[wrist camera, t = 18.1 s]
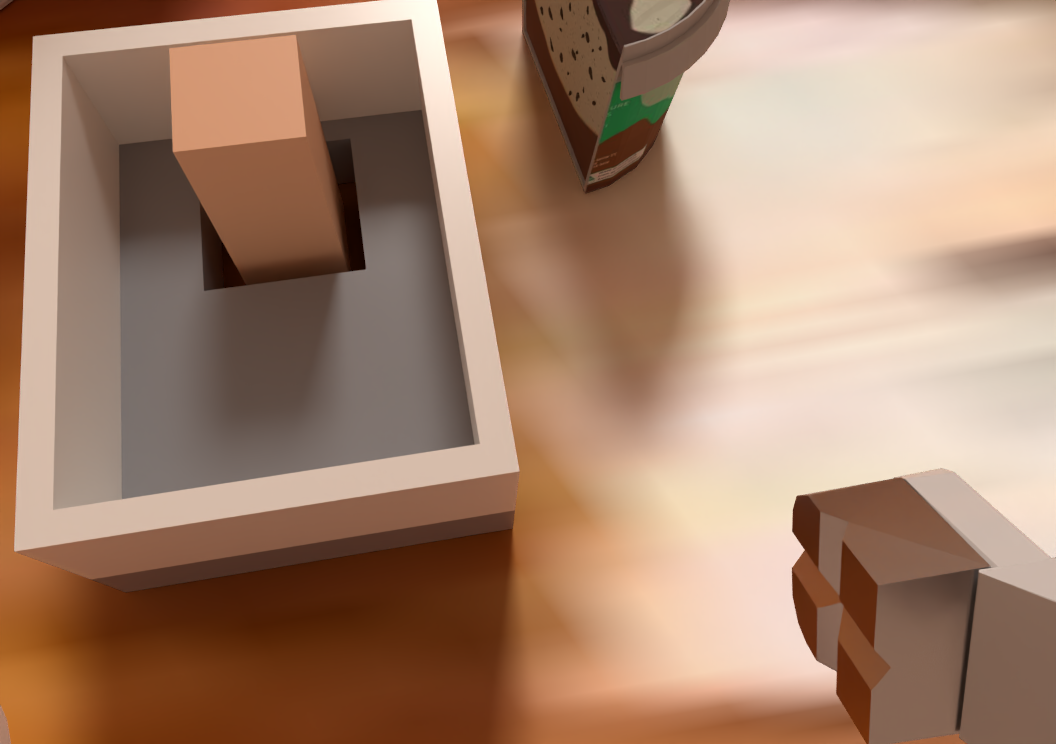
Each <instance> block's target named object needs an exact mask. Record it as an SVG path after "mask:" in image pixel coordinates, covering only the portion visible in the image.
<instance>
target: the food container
mask: <svg viewBox="0 0 1056 744" xmlns="http://www.w3.org/2000/svg"><path fill="white" fill-rule="evenodd" d="M729 2H730V0H522V32H523V34H524V37H525V39H526V42H527V44H528V47H529V50H530V52H531V55H532V57H533V60H534V63H535V65H536V68H537V70H538V73H539V76H540V78H541V81H542V83H543V86H544V89H545V91H546V94H547V96H548V99H549V102H550V104H551V107H552V109H553V112H554V115H555V117H556V120H557V122H558V125H559V128H560V130H561V133H562V135H563V138H564V141H565V143H566V146H567V148H568V151H569V154H570V156H571V159H572V161H573V164H574V167H575V169H576V172H577V174H578V177H579V179H580V182H581V185H582V187H583V190H584V192H585V193H588V192H591V191H594V190H597V189H600V188H603V187H606V186H609V185H611V184H612V183H614V182H615V181H617V180H618V179H620V178H621V177H623V176H624V175H626V174H627V173H629V172H630V171H632V170H633V169H635V168H636V167H637V165H638V164H639V163H640V161H641V160H642V159H643V157H644V156H645V155H646V154H647V152H648V151H649V150H650V148H651V147H652V146H653V144H654V142H655V139H656V137H657V134H658V132H659V130H660V127H661V125H662V123H663V120H664V118H665V115H666V113H667V111H668V108H669V106H670V104H671V101H672V99H673V97H674V94H675V92H676V89H677V87H678V85H679V82H680V80H681V78H682V75H683V73H684V72H685V71H686V70H688V69H689V68H690V67H691V66H692V65H693V64H694V63H695V62H696V61H697V60H698V59H699V58H700V57H701V56H702V55H704V54H705V52H706V51H707V50H708V48H709V47H710V45H711V44H712V43H713V41H714V40H715V38H716V37H717V36H718V34H719V31H720V29H721V27H722V25H723V23H724V20H725V18H726V15H727V11H728V6H729Z"/></svg>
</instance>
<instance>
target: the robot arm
mask: <svg viewBox="0 0 1056 744" xmlns="http://www.w3.org/2000/svg"><path fill="white" fill-rule="evenodd" d="M792 532H793V533H794V535H795V536H796V538H797V539H798V541H799V542H800V543H801V545H802V546H803V548H804V549H805V551H804V552H803V554H802V555H801V556H800V558H799V559H798V561H797V562H796V563H795V565H794V566H793V567H792V590H793V600H794V605H795V609H796V614H797V619H798V623H799V626H800V628H801V631H802V633H803V636H804V638H805V641H806V643H807V645H808V646H809V648H810V650H811V652H812V653H813V655H814V657H815V659H816V660H817V661H818V662H820V663H822V664H824V665H826V666H828V667H829V668H831V669H833V670H835V671H837V688H836V694H837V696H838V697H839V699H840V701H841V702H842V704H843V706H844V707H845V709H846V711H847V712H848V714H849V715H850V717H851V719H852V720H853V722H854V724H855V725H856V727H857V729H858V730H859V732H860V734H861V735H862V737H863V739H864V740H865V742H866V744H892V743H899V742H906V741H912V740H919V739H926V738H932V737H939V736H946V735H952V734H959V733H960V735H959V738H960V739H961V740H963V741H965V742H966V743H968V744H1056V557H1055V558H1051V557H1050V556H1048V555H1047V554H1046V553H1045V552H1044V551H1043V550H1042V549H1040V548H1039V547H1038V546H1037V545H1036V544H1035V543H1034V542H1033V541H1031V540H1030V539H1029V538H1028V537H1027V536H1026V535H1025V534H1024V533H1022V532H1021V531H1020V530H1019V529H1018V528H1017V527H1016V526H1015V525H1013V524H1012V523H1011V522H1010V521H1009V520H1008V519H1007V518H1006V517H1004V516H1003V515H1002V514H1001V513H1000V512H999V511H998V510H997V509H995V508H994V507H993V506H992V505H991V504H990V503H989V502H987V501H986V500H985V499H984V498H983V497H982V496H981V495H980V494H978V493H977V492H976V491H975V490H974V489H973V488H972V487H971V486H969V485H968V484H967V483H966V482H965V481H964V480H963V479H962V478H960V477H959V476H958V475H957V474H956V473H955V472H953V471H949V470H946V469H943V468H940V469H935V470H930V471H925V472H920V473H915V474H910V475H905V476H900V477H894V478H893V479H889V480H883V481H878V482H872V483H866V484H861V485H855V486H849V487H844V488H838V489H833V490H827V491H821V492H816V493H810V494H805V495H799V496H797V497H796V501H795V504H794V508H793V525H792ZM0 744H11V743H10V736H9V730H8V724H7V719H6V717H5V715H4V712H3V710H2V708H1V706H0Z"/></svg>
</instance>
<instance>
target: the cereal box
mask: <svg viewBox="0 0 1056 744" xmlns="http://www.w3.org/2000/svg"><path fill="white" fill-rule="evenodd" d="M12 1H13V0H0V10H1V9H2V8H4V7H5V6H6V5H8V4H9V3H10V2H12Z"/></svg>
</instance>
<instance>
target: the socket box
mask: <svg viewBox="0 0 1056 744" xmlns="http://www.w3.org/2000/svg"><path fill="white" fill-rule="evenodd" d="M289 35H296V37H297V40H298V44H299V47H300V51H301V54H302V58H303V62H304V65H305V69H306V72H307V76H308V79H309V83H310V87H311V90H312V94H313V97H314V101H315V105H316V108H317V112H318V115H319V119H320V122H321V126H322V130H323V133H324V137H325V140H326V144H327V147H328V151H329V155H330V158H331V162H332V165H333V169H334V172H335V176H336V180H337V183H338V184H341V183H349V182H356V190H357V198H358V206H359V215H360V223H361V231H362V239H363V247H364V256H365V264H366V269H365V270H358V271H350V272H343V273H335V274H328V275H320V276H313V277H305V278H298V279H290V280H283V281H275V282H268V283H260V284H253V285H245V286H238V287H230V288H224V278H223V260H222V241H221V238H220V237H219V235H218V233H217V231H216V229H215V228H214V226H213V224H212V222H211V220H210V219H209V217H208V215H207V213H206V211H205V209H204V208H203V206H202V204H201V202H200V200H199V199H198V197H197V195H196V193H195V191H194V190H193V188H192V186H191V184H190V182H189V180H188V179H187V177H186V175H185V173H184V171H183V170H182V168H181V166H180V164H179V162H178V161H177V159H176V157H175V155H174V153H173V142H172V113H171V84H170V55H169V48H176V47H185V46H195V45H204V44H214V43H223V42H233V41H242V40H252V39H261V38H270V37H280V36H289ZM518 479H519V466H518V460H517V455H516V449H515V443H514V438H513V432H512V426H511V421H510V415H509V409H508V403H507V398H506V392H505V386H504V381H503V375H502V369H501V364H500V358H499V352H498V347H497V341H496V335H495V330H494V324H493V318H492V313H491V307H490V301H489V295H488V290H487V284H486V278H485V273H484V267H483V261H482V256H481V250H480V244H479V239H478V233H477V227H476V222H475V216H474V210H473V205H472V199H471V193H470V187H469V182H468V176H467V170H466V165H465V159H464V153H463V148H462V142H461V136H460V131H459V125H458V119H457V114H456V108H455V102H454V97H453V91H452V85H451V79H450V74H449V68H448V62H447V57H446V51H445V45H444V40H443V34H442V28H441V23H440V17H439V11H438V6H437V0H382V1H372V2H362V3H353V4H343V5H333V6H323V7H314V8H304V9H294V10H284V11H275V12H265V13H255V14H245V15H236V16H226V17H216V18H207V19H197V20H187V21H177V22H168V23H158V24H148V25H138V26H129V27H119V28H109V29H99V30H90V31H80V32H70V33H60V34H51V35H41V36H33V51H32V79H31V106H30V133H29V161H28V188H27V215H26V243H25V270H24V297H23V324H22V352H21V379H20V406H19V434H18V461H17V488H16V516H15V543H14V552H17V553H20V554H22V555H25V556H28V557H31V558H33V559H36V560H39V561H41V562H44V563H47V564H50V565H52V566H55V567H58V568H61V569H63V570H66V571H69V572H71V573H74V574H77V575H80V576H82V577H85V578H88V579H91V580H93V581H96V582H99V583H102V584H104V585H107V586H110V587H112V588H115V589H118V590H121V591H123V592H131V591H137V590H143V589H149V588H156V587H162V586H168V585H174V584H180V583H186V582H192V581H198V580H204V579H210V578H216V577H222V576H228V575H234V574H240V573H246V572H252V571H258V570H265V569H271V568H277V567H283V566H289V565H295V564H301V563H307V562H313V561H319V560H325V559H331V558H337V557H343V556H349V555H355V554H361V553H367V552H373V551H380V550H386V549H392V548H398V547H404V546H410V545H416V544H422V543H428V542H434V541H440V540H446V539H452V538H458V537H464V536H470V535H476V534H482V533H489V532H495V531H501V530H507V529H513V522H514V513H515V505H516V496H517V488H518Z"/></svg>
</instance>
